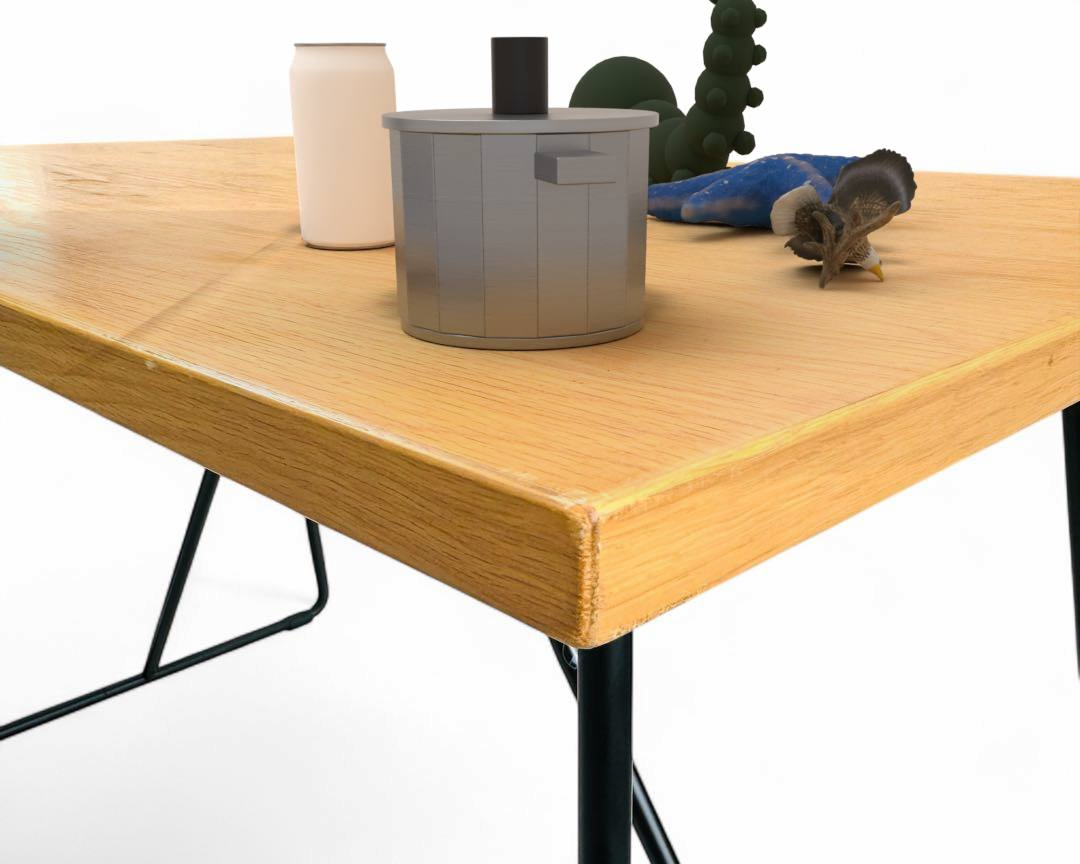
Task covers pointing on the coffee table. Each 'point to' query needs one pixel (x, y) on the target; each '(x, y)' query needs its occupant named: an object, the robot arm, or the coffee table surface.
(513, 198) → the pot
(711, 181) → the starfish
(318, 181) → the can
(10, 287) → the coffee table surface
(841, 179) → the eagle figurine
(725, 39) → the toy figurine
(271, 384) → the coffee table surface
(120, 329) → the coffee table surface
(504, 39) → the pot lid
